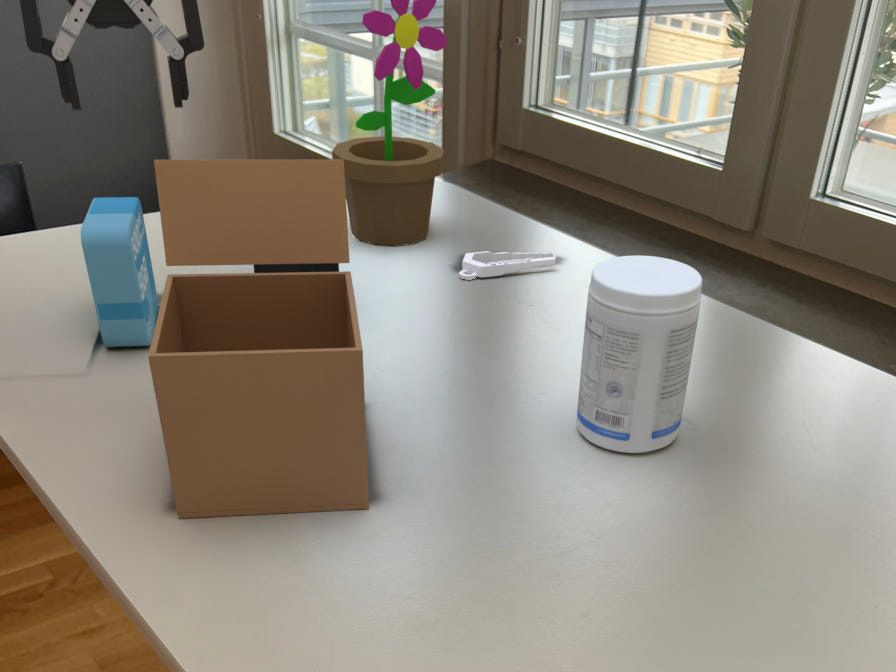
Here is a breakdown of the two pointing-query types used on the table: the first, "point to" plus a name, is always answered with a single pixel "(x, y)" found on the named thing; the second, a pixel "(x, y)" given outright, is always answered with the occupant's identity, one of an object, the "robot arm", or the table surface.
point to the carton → (261, 393)
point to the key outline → (501, 263)
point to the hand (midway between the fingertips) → (128, 107)
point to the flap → (252, 211)
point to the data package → (120, 271)
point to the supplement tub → (637, 352)
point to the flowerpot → (394, 139)
